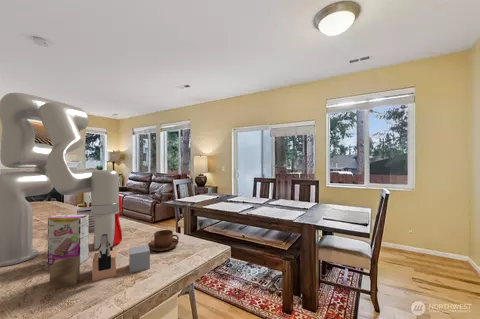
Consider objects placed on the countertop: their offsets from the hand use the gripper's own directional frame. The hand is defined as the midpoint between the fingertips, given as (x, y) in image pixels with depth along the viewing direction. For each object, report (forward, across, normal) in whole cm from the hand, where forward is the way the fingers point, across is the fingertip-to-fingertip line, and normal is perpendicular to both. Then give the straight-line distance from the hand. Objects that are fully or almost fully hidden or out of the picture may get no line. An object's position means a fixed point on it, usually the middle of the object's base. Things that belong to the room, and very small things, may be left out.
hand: (106, 262), depth 70 cm
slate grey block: (+4, 0, +10) cm, 10 cm away
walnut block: (+4, 0, -10) cm, 11 cm away
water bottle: (+3, -27, 0) cm, 28 cm away
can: (+3, -53, -10) cm, 54 cm away
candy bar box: (+3, -15, -12) cm, 20 cm away
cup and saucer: (+4, -14, +20) cm, 24 cm away
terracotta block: (+4, 0, 0) cm, 4 cm away
